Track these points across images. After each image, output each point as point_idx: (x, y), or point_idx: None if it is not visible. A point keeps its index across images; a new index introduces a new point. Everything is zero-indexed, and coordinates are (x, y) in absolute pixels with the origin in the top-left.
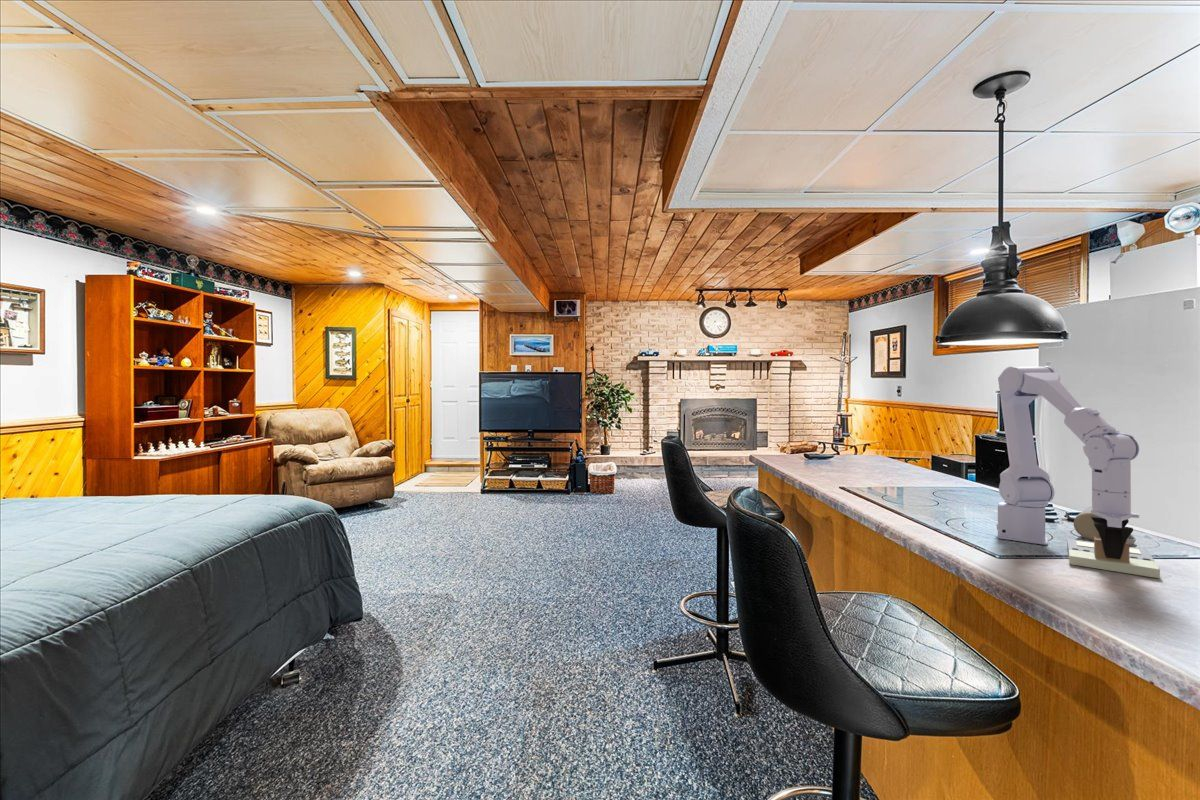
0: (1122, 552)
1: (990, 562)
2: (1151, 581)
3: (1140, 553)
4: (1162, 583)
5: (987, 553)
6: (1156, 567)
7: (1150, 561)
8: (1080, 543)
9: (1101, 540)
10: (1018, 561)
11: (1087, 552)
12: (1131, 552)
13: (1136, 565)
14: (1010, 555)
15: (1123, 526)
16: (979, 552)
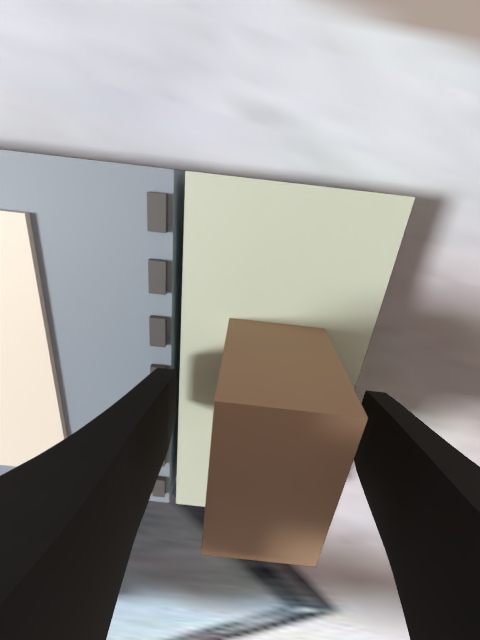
0: (422, 422)
1: (395, 625)
2: (443, 246)
3: (13, 215)
4: (464, 202)
5: (286, 622)
6: (371, 206)
7: (203, 200)
8: (16, 455)
9: (394, 567)
10: (342, 579)
11: (193, 454)
12: (32, 265)
13: (371, 307)
14: (272, 586)
15: (62, 552)
16: (286, 633)
